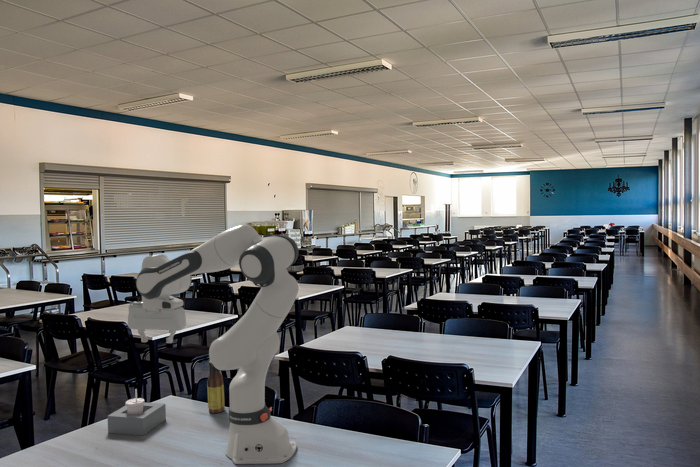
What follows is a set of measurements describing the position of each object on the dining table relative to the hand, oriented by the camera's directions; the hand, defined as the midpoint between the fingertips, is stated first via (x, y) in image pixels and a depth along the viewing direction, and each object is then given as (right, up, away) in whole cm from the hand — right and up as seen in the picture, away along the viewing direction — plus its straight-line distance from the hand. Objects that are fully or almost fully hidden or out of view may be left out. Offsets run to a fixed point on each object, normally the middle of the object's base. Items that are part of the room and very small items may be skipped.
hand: (157, 342), depth 173 cm
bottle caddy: (-12, -33, +12) cm, 37 cm away
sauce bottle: (+14, -32, +25) cm, 43 cm away
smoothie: (-12, -33, +10) cm, 37 cm away
